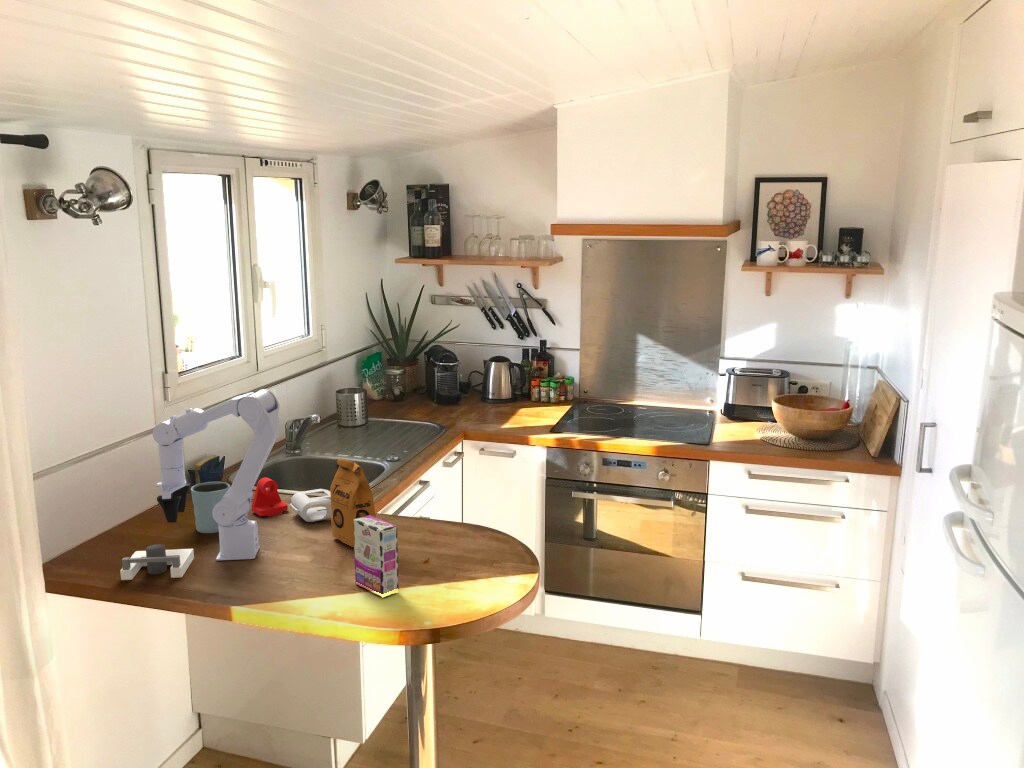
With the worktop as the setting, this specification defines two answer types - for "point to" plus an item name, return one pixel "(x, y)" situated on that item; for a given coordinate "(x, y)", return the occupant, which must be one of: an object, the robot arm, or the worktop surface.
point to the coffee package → (349, 500)
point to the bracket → (267, 499)
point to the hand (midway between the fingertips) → (176, 516)
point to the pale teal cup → (207, 504)
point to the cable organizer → (303, 504)
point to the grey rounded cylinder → (156, 551)
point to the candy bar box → (376, 554)
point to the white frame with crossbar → (175, 557)
